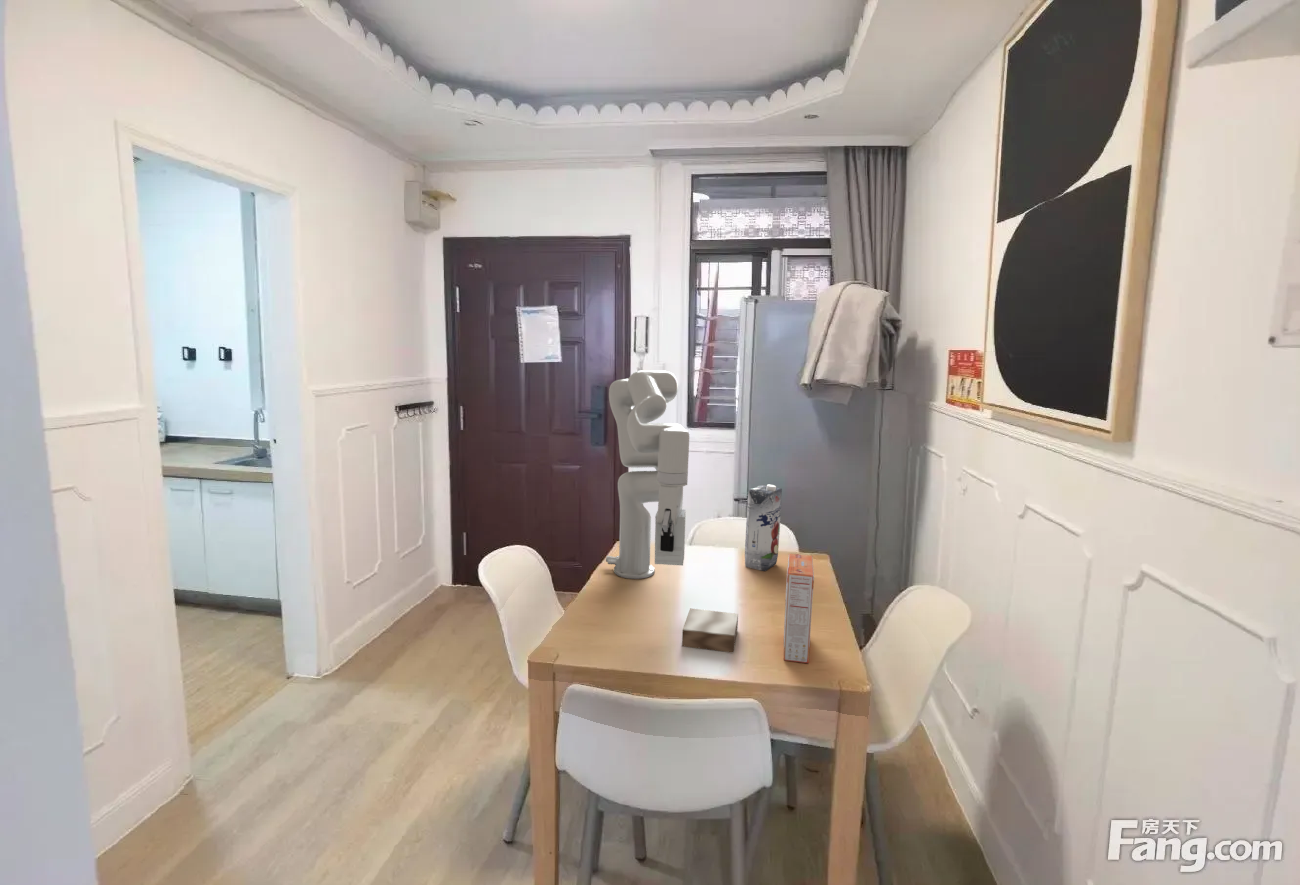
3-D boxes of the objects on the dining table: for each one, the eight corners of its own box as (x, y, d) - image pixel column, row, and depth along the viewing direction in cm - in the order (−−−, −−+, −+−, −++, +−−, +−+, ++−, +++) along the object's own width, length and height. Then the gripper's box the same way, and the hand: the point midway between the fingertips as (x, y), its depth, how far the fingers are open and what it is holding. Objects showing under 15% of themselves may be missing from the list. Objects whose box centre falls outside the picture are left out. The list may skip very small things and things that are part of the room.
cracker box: (782, 633, 154) (788, 552, 151) (808, 637, 153) (814, 555, 149) (781, 661, 140) (787, 572, 137) (809, 665, 139) (815, 575, 136)
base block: (681, 646, 146) (682, 629, 145) (689, 624, 158) (690, 608, 157) (733, 652, 144) (734, 635, 143) (737, 630, 155) (738, 613, 155)
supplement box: (684, 556, 162) (686, 509, 160) (683, 566, 155) (685, 517, 153) (656, 554, 163) (657, 507, 161) (653, 564, 155) (655, 515, 153)
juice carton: (740, 567, 200) (745, 485, 196) (755, 558, 209) (759, 479, 204) (766, 573, 195) (771, 489, 191) (780, 564, 204) (785, 483, 199)
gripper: (664, 469, 164) (661, 534, 167) (650, 484, 147) (648, 555, 150) (692, 472, 163) (689, 536, 166) (681, 486, 146) (678, 558, 149)
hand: (669, 545), depth 158 cm, fingers closed on supplement box, 7 cm apart
